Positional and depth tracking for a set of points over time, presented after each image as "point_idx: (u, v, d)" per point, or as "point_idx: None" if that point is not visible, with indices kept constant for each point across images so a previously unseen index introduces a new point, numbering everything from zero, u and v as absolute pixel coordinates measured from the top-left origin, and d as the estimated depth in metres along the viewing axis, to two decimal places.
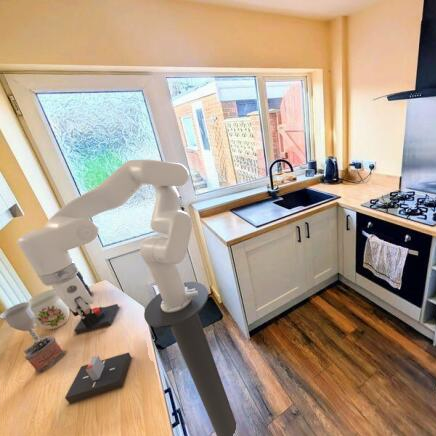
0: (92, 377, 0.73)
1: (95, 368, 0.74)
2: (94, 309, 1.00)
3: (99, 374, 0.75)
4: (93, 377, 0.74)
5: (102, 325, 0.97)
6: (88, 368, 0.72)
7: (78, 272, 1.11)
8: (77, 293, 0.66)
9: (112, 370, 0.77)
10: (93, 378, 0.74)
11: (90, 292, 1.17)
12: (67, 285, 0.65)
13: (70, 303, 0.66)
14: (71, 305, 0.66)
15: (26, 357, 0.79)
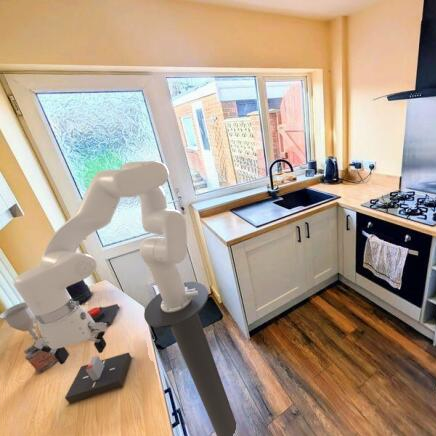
0: (92, 377, 0.73)
1: (95, 368, 0.74)
2: (94, 309, 1.00)
3: (99, 374, 0.75)
4: (93, 377, 0.74)
5: None
6: (88, 368, 0.72)
7: None
8: (87, 319, 0.69)
9: (112, 370, 0.77)
10: (93, 378, 0.74)
11: (90, 292, 1.17)
12: (79, 313, 0.67)
13: (86, 329, 0.68)
14: (87, 331, 0.68)
15: (26, 357, 0.79)
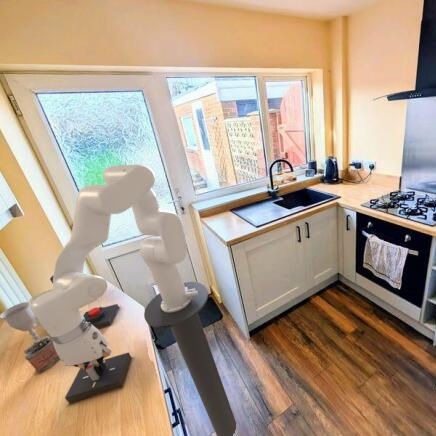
0: (92, 377, 0.73)
1: None
2: (94, 309, 1.00)
3: None
4: (92, 377, 0.74)
5: (102, 325, 0.97)
6: (88, 368, 0.72)
7: None
8: (99, 338, 0.72)
9: (112, 370, 0.77)
10: (92, 378, 0.74)
11: None
12: (91, 333, 0.70)
13: (97, 348, 0.71)
14: (98, 350, 0.71)
15: (26, 357, 0.79)
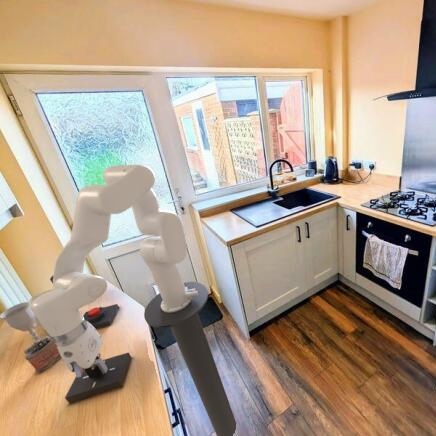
0: None
1: None
2: (94, 309, 1.00)
3: None
4: None
5: (102, 325, 0.97)
6: None
7: None
8: (72, 358, 0.66)
9: (112, 370, 0.77)
10: None
11: None
12: (64, 350, 0.65)
13: (66, 365, 0.67)
14: (67, 366, 0.67)
15: (26, 357, 0.79)
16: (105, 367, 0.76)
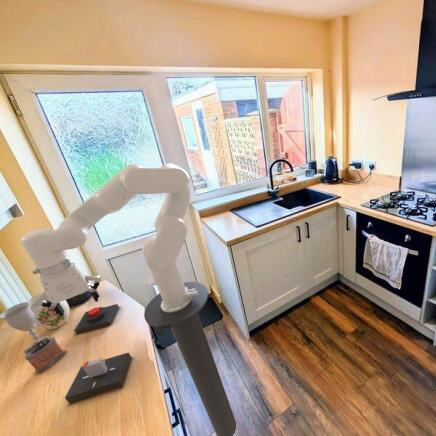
0: None
1: (88, 369, 0.74)
2: (94, 309, 1.00)
3: (92, 375, 0.75)
4: None
5: (102, 325, 0.97)
6: (84, 364, 0.74)
7: None
8: None
9: (112, 370, 0.77)
10: None
11: (90, 292, 1.17)
12: None
13: None
14: None
15: (26, 357, 0.79)
16: (105, 367, 0.76)
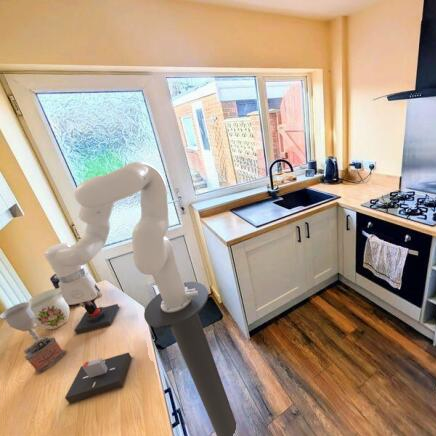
0: None
1: (88, 369, 0.74)
2: None
3: (92, 375, 0.75)
4: None
5: (102, 325, 0.97)
6: (84, 364, 0.74)
7: None
8: None
9: (112, 370, 0.77)
10: None
11: None
12: None
13: None
14: None
15: (26, 357, 0.79)
16: (105, 367, 0.76)
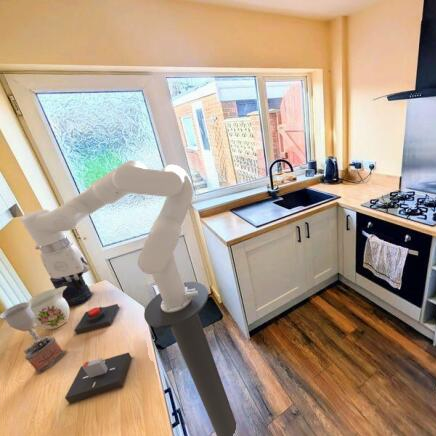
0: None
1: (88, 369, 0.74)
2: (94, 309, 1.00)
3: (92, 375, 0.75)
4: None
5: (102, 325, 0.97)
6: (84, 364, 0.74)
7: None
8: None
9: (112, 370, 0.77)
10: None
11: (90, 292, 1.17)
12: None
13: None
14: None
15: (26, 357, 0.79)
16: (105, 367, 0.76)
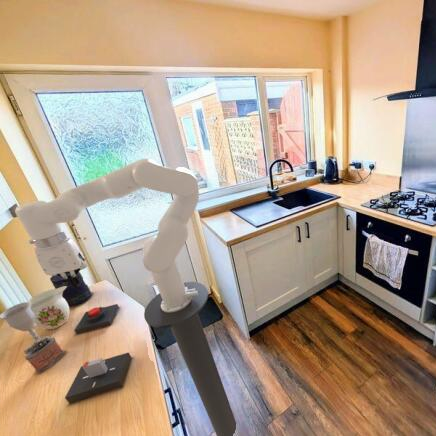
0: None
1: (88, 369, 0.74)
2: (94, 309, 1.00)
3: (92, 375, 0.75)
4: None
5: (102, 325, 0.97)
6: (84, 364, 0.74)
7: None
8: None
9: (112, 370, 0.77)
10: None
11: (90, 292, 1.17)
12: None
13: None
14: None
15: (26, 357, 0.79)
16: (105, 367, 0.76)
